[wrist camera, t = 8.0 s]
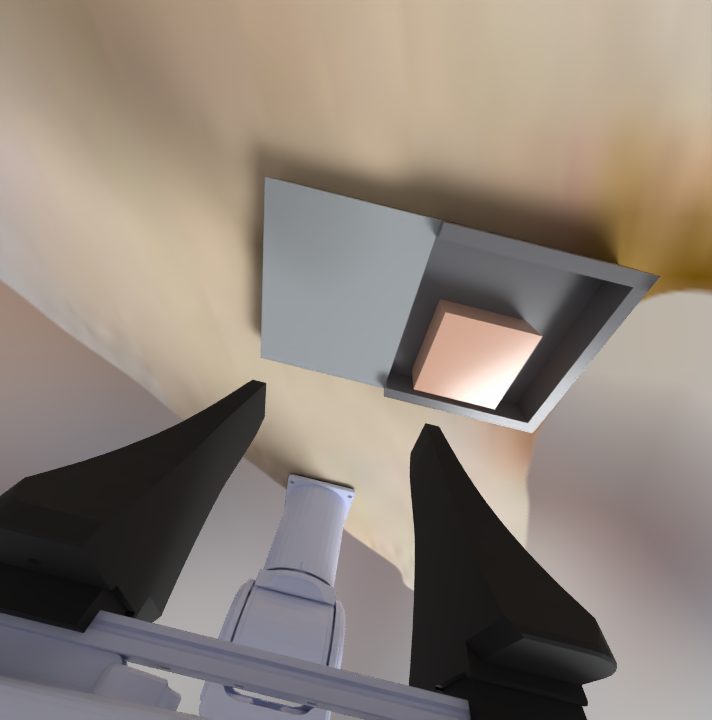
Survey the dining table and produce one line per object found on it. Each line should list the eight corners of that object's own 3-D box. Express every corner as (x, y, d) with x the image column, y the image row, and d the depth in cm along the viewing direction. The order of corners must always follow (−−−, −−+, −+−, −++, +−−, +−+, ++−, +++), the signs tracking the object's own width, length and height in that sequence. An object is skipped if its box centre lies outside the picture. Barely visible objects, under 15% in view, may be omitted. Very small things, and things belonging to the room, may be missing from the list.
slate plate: (385, 374, 23) (384, 388, 21) (270, 345, 23) (260, 357, 21) (436, 218, 16) (441, 221, 15) (278, 179, 16) (264, 176, 15)
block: (484, 388, 21) (494, 409, 19) (411, 370, 21) (413, 389, 19) (525, 320, 18) (542, 336, 16) (439, 298, 18) (445, 312, 16)
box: (516, 406, 23) (532, 433, 20) (385, 374, 23) (383, 396, 20) (619, 264, 16) (660, 276, 14) (436, 218, 16) (443, 222, 14)
